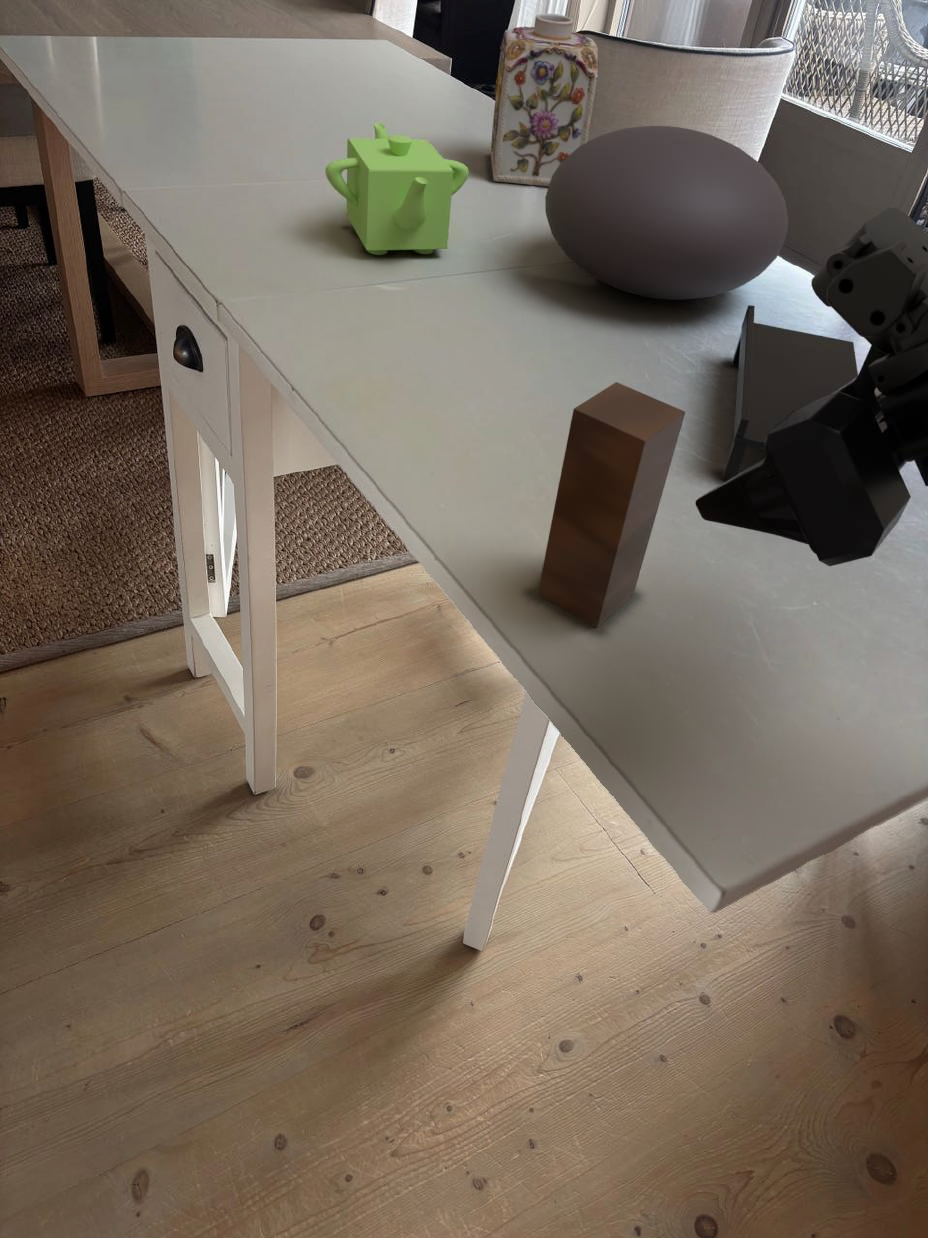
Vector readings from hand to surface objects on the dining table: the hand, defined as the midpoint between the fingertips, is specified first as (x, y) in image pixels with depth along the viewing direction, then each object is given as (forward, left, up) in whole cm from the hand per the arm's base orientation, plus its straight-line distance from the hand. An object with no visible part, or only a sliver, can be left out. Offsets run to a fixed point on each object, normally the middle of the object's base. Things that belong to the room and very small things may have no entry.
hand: (739, 474), depth 50 cm
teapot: (+36, -55, -13) cm, 67 cm away
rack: (-7, -31, -13) cm, 35 cm away
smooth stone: (+8, -57, -13) cm, 59 cm away
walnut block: (+6, -3, -13) cm, 15 cm away
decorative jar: (+27, -88, -13) cm, 93 cm away
